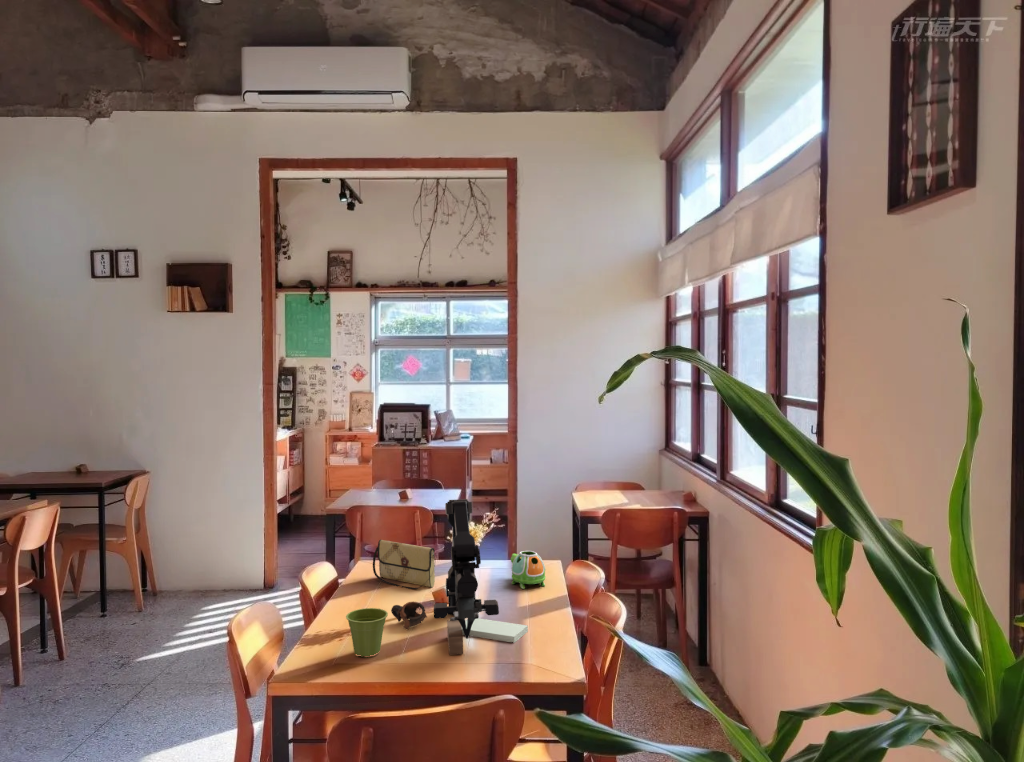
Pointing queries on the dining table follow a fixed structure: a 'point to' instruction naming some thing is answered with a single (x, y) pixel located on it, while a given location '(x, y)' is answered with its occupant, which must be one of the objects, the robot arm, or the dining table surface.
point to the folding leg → (455, 637)
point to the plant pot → (367, 630)
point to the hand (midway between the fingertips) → (467, 638)
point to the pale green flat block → (497, 630)
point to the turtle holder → (527, 568)
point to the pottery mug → (409, 614)
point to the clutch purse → (405, 563)
